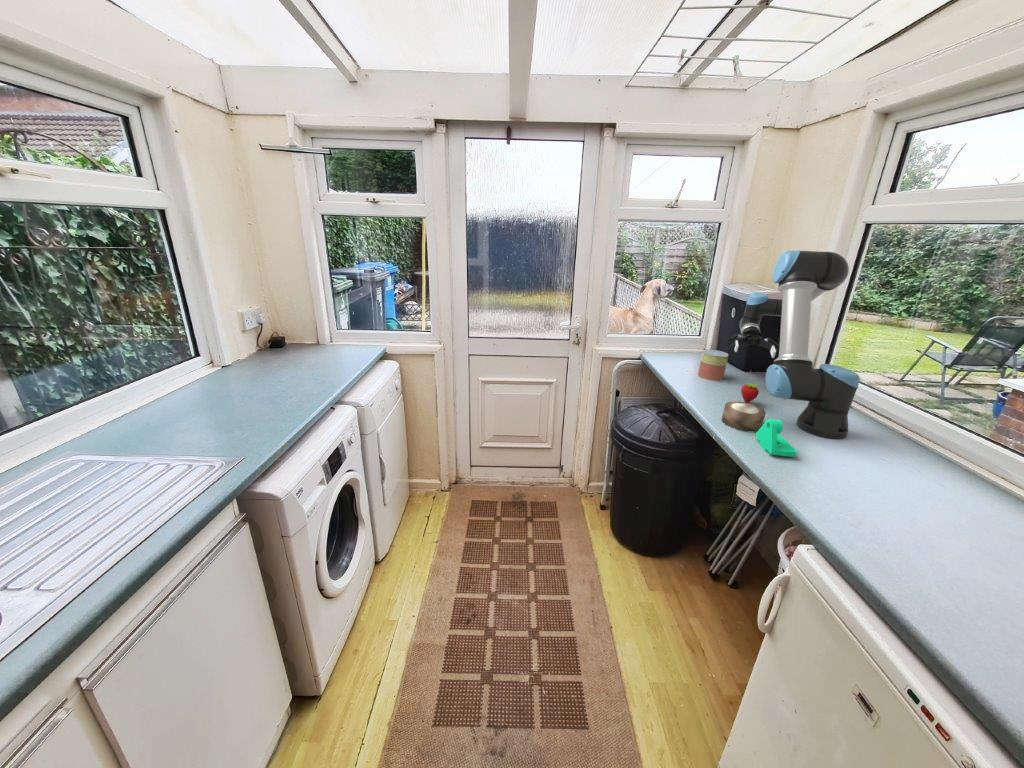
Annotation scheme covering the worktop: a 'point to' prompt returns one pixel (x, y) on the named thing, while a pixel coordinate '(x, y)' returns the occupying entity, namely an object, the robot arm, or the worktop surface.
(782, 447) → the camera mount
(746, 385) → the strawberry
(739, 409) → the bronze puck
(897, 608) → the worktop surface
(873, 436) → the worktop surface
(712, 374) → the canned food
